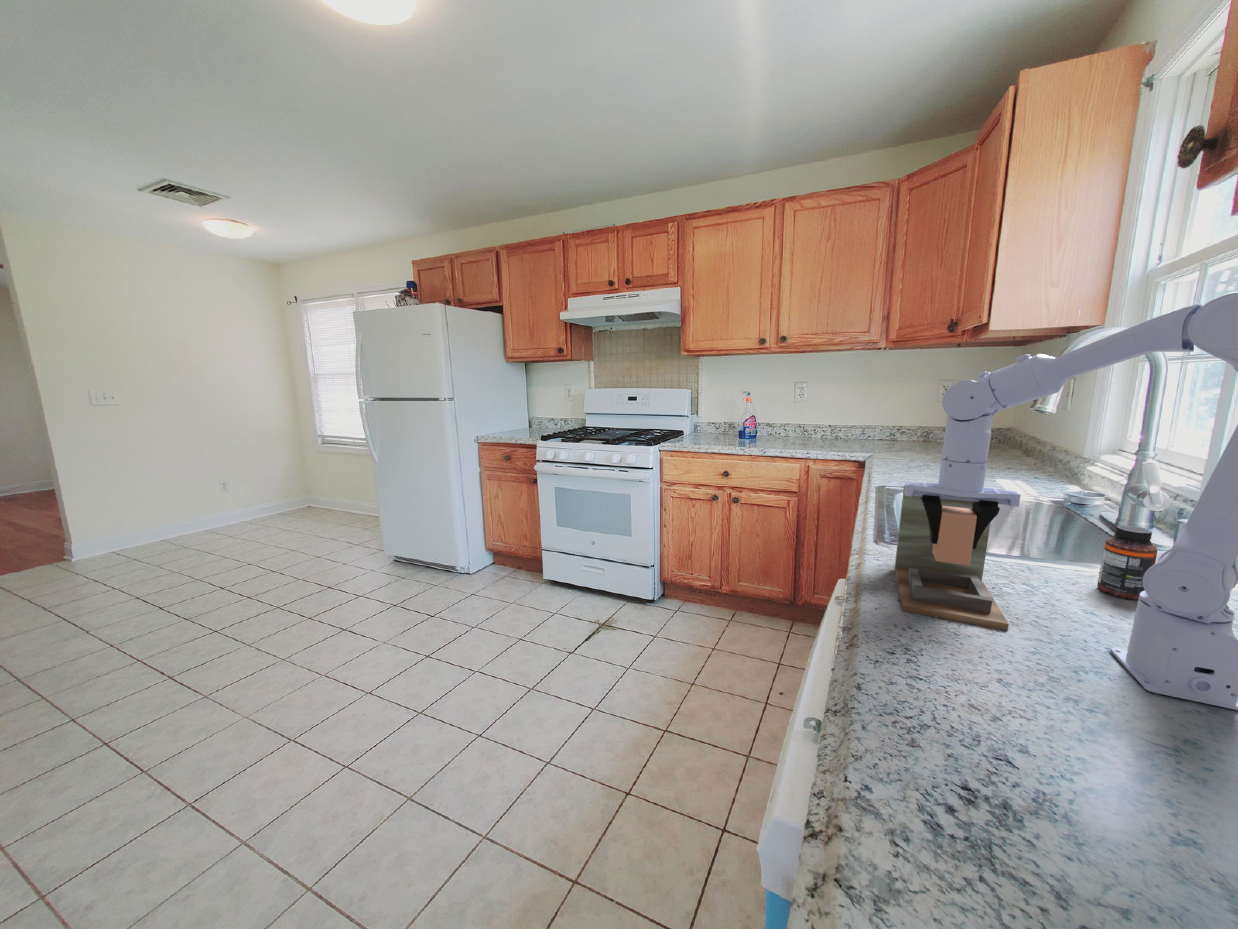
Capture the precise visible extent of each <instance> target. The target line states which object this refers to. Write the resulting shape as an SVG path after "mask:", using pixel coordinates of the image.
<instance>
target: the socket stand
mask: <svg viewBox="0 0 1238 929" xmlns="http://www.w3.org/2000/svg"><path fill="white" fill-rule="evenodd" d="M904 491H905V484H904V485H903V490H902V500H901V509H900V517H899V526H898V534H897V535H898V536H897V543H896V551H895V561H894V568H895V570H894V573H896V575H895V579H896V578H897V580H896V584H898V585H897V590H898V589H899V590H898V595H899V594H900V595H899V601H900V600H901V601H900V605H902V606H901V610H903V611H902V612H906V611H907V612H908V613H912V614H917V613H918V614H917V615H923V614H924V615H923V616H929V617H933V616H937V617H936V618H937V619H938V618H939V617H940V618H941V619H945V620H949V619H950V620H951V621H955V622H960V623H966V624H971V625H976V626H982V627H988V628H992V629H999V630H1002V631H1003V630H1004V631H1008V630H1009V625H1010V624H1009V622H1008V620H1007V618H1006V617H1005V615H1004V613H1003V612H1002V611H1001V608H1000V607H999V606H998V604H997V602H996V600H994V597H993V596H992V594H991V593H990V591H989V589H988V588H987V586H986V584H985V583H984V581H983V575H984V569H985V561H986V556H987V550H988V549H987V548H988V543H989V542H988V541H989V535H990V529H991V522H992V521H991V522H990V523H989V525H988V526H987V527H986V529H985V530H984V532H983V533H982V535H981V537H980V539H979V541H978V543H977V546H976V549H972V555H971V562H970V566H967V565H960V564H953V563H946V562H939V561H936V560H935V558H934V555H933V553H932V549H933V543H931V540H930V527H929V522H928V518H927V514H926V511H925V508H924V505H923V503H922V500H921V498H920V496H913V497H910V496H905V494H904ZM940 501H941V505H942V506H949V507H959V508H969V509H972V501H962V500H951V499H941V498H940Z"/></svg>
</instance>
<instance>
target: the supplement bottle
mask: <svg viewBox="0 0 1238 929" xmlns="http://www.w3.org/2000/svg"><path fill="white" fill-rule="evenodd" d="M1115 528H1116V529H1115V532H1114V533H1115V534H1113V535H1112V536H1110V537H1108V538H1106V540H1105V542H1104V546H1103V547H1104V548H1103V552H1102V557H1101V563H1100V568H1099V572H1098V577H1097V578H1098V579H1097V585H1096V586H1097V587H1098V590H1099V589H1100V591H1103V592H1104V593H1106V592H1107V593H1106V594H1108V593H1109V595H1111V596H1114V597H1117V596H1118V598H1123V599H1126V600H1127V599H1128V600H1137V599H1138V600H1139V595H1140V592H1142V591H1145V590H1144V587H1143V576H1144V574H1145V572H1146V571H1147V570H1148V569H1149V568H1150V567H1151V566H1153V565H1154V564H1156V562H1157V560H1156V559H1157V554H1158V548H1157V546H1156V545H1155V544H1154V543H1153V542H1152V541H1151V540H1152V534H1153V531H1152V530H1150V529H1148V528H1145V527H1141V526H1136V525H1129V524H1119V525H1116V527H1115Z"/></svg>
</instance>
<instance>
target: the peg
mask: <svg viewBox="0 0 1238 929" xmlns="http://www.w3.org/2000/svg"><path fill="white" fill-rule="evenodd" d="M976 520H977V515H976V514H975V513H974V512H973V510H972V509H969V508H959V507H949V506H942V511H941V515H940V521H939V529H938V541H937V544H933V549H932V553H933V555H934V558H935V560H936V561H939V562H946V563H953V564H960V565H967V566H970V562H971V555H972V548H973V541H974V534H975V527H976Z"/></svg>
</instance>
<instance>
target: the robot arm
mask: <svg viewBox="0 0 1238 929" xmlns="http://www.w3.org/2000/svg"><path fill="white" fill-rule="evenodd" d="M1195 347H1196V348H1198V349H1199V350H1201V351H1203V352H1204V353H1205V352H1206V353H1207V354H1209V355H1211V356H1213V357H1215V358H1217V359H1220V360H1222V361H1224V362H1226V363H1227V364H1230V366H1232V367H1233V369H1234V370H1235V371H1236V372H1237V373H1238V291H1233V292H1229V293H1226V294H1222V295H1220V296H1218V297H1214V298H1213V299H1211V300H1209V301H1208V302H1206V303H1205V304H1200V303H1196V304H1191V305H1188V306H1184V307H1182V308H1178V309H1175V310H1171V311H1169V312H1167V313H1164V314H1160V315H1158V316H1155V317H1152V318H1149V319H1148V320H1145V321H1143V322H1139V323H1138V324H1135V325H1133V326H1130V327H1128V328H1125V329H1123V330H1119V331H1118V332H1115V333H1113V334H1110V335H1107V336H1106V337H1103V338H1101V339H1098V340H1095V341H1093V342H1090V343H1089V344H1085V345H1084V346H1081V347H1077V348H1075V349H1074V350H1072V351H1069V352H1066V353H1063V354H1061V355H1058V356H1057V357H1056V356H1055V357H1054V356H1050V355H1047V354H1043V353H1037V354H1034V355H1033V356H1032V355H1031V353H1029V354H1027V353H1026V354H1022V355H1020V356H1018V357H1016V358H1015V360H1016V362H1014V363H1012V364H1009V365H1007V366H1004V367H1002V368H999V369H997V370H994V371H991V372H990V371H985V370H984V371H983V372H980V373H978V375H977V376H978V379H977V381H976V380H973V379H972V380H971V379H963V380H959V381H957V383H955V384H953V385H951V386H950V387H949V388H948V389H946V391H945V392H944V394H943V396H942V401H941V405H942V408H943V411H944V412H945V413H946V416H947V417H946V423H945V430H944V437H943V444H942V452H941V462H940V467H939V468H940V469H939V476H938V482H937V483H933V482H932V483H931V482H929V483H927V482H908V481H907V482H905V484H904V485H905V491H904V494H905V496H910V497H913V496H920V498H921V500H922V503H923V505H924V508H925V511H926V514H927V518H928V522H929V527H930V540H931V543H933V544H937V541H938V529H939V521H940V515H941V511H942V505H941V501H940V498H941V499H951V500H962V501H972V510H973V512H974V513H975V514H976V515H977V520H976V527H975V534H974V541H973V548H972V549H976V546H977V543H978V541H979V539H980V537H981V535H982V533H983V532H984V530H985V529H986V527H987V526H988V525H989V523H990V522H992V521H993V520H994V519H995V518H996V517H997V516H998V515H999V513H1000V510H1001V509H1000V507H999V505H1006V506H1009V507H1016V508H1018V507H1019V508H1020V502H1021V501H1020V500H1021V494H1020V493H1019V492H1018V491H1014V490H1013V491H1011V490H1003V489H996V488H988V487H985V480H986V479H985V478H986V472H987V465H988V458H989V457H988V456H989V450H990V444H991V438H992V427H993V419H994V416H995V415H996V414H997V413H998V412H999V411H1000V410H1001V411H1005V410H1009V409H1011V408H1015V407H1018V406H1022V405H1023V404H1027V403H1030V402H1033V401H1036V400H1039V399H1041V398H1046V397H1048V396H1052V395H1054V394H1057V393H1059V392H1060V390H1061V389H1062V388H1063V386H1064V384H1065V383H1066V382H1067V381H1068V380H1069V379H1071V378H1074V377H1077V376H1080V375H1084V374H1087V373H1090V372H1094V371H1097V370H1099V369H1103V368H1105V367H1109V366H1112V365H1116V364H1118V363H1121V362H1125V361H1127V360H1131V359H1134V358H1135V359H1136V358H1139V357H1140V356H1141V357H1142V356H1144V355H1147V354H1150V353H1157V352H1158V353H1159V352H1160V353H1161V352H1162V353H1165V352H1166V353H1167V352H1169V353H1170V352H1171V353H1173V352H1174V353H1175V352H1177V353H1179V352H1181V353H1188V352H1189V353H1191V352H1194V351H1195ZM990 524H991V523H990ZM1237 558H1238V424H1237V425H1236V427H1235V429H1234V431H1233V433H1232V434H1231V436H1230V438H1229V440H1228V442H1227V444H1226V446H1225V448H1224V450H1223V451H1222V454H1221V456H1220V458H1219V459H1218V462H1217V464H1216V465H1215V468H1214V469H1213V471H1212V472H1211V475H1210V477H1209V480H1208V481H1207V482H1206V485H1205V487H1204V489H1203V491H1202V493H1201V494H1200V497H1199V499H1198V500H1197V501H1196V504H1195V506H1194V507H1193V510H1192V512H1191V514H1190V516H1189V518H1188V520H1187V521H1186V524H1184V527H1183V529H1182V531H1181V532H1180V533H1179V536H1178V537H1177V539H1176V540H1175V542H1174V544H1173V545H1172V546H1171V548H1169V549H1168V550H1165V551H1164V553H1162V554H1161V555H1160V557H1159V558H1158V560H1157V561H1156V562H1155V564H1154V565H1153V566H1151V567H1150V568H1149V569H1148V570H1147V571H1146V572H1145V574H1144V576H1143V587H1144V590H1145V591H1142V592H1140V595H1139V599H1138V600H1137V605H1136V608H1135V609H1136V610H1135V614H1134V619H1133V622H1132V623H1133V624H1132V627H1131V633H1130V638H1129V640H1128V641H1129V642H1128V647H1127V649H1124V648H1118V647H1110V648H1109V651H1110V652H1111V654H1112V655H1113V656H1114V657H1115V658H1116V659H1117V660H1118V661H1119V662H1120V664H1122V666H1123V667H1124V668H1125V669H1126V670H1127V671H1128V672H1129V673H1130V674H1131V675H1132V676H1133V678H1135V680H1136V681H1137V682H1138V683H1139V684H1140V685H1141V686H1142V687H1143V688H1144V689H1145V690H1146V691H1148V692H1151V693H1154V694H1159V695H1164V696H1169V697H1173V698H1178V699H1183V700H1187V701H1192V702H1198V703H1203V704H1207V705H1211V706H1212V705H1213V706H1215V707H1220V708H1221V707H1222V708H1226V709H1230V710H1236V711H1238V639H1237V637H1236V635H1235V634H1234V631H1233V622H1234V618H1235V612H1234V611H1233V610H1232V609H1230V606H1228V603H1229V601H1230V598H1231V592H1232V590H1233V589H1234V588H1236V585H1237V584H1238V567H1237Z"/></svg>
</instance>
